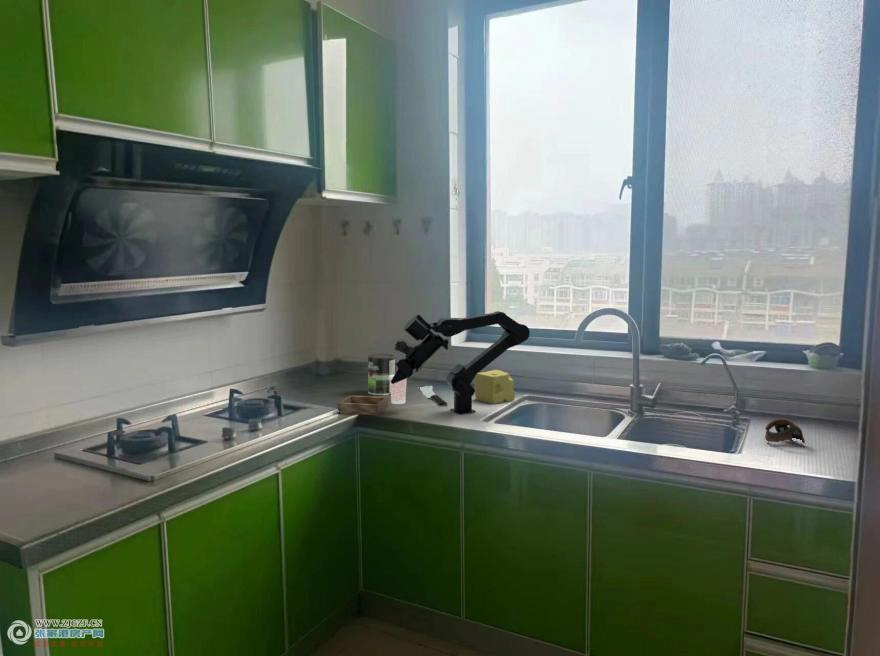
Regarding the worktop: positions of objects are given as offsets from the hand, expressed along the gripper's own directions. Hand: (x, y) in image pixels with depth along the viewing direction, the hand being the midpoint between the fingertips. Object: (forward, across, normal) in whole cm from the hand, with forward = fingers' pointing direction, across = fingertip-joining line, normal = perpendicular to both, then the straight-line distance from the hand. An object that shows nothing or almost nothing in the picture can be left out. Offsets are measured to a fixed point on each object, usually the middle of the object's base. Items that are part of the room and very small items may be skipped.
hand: (394, 381), depth 211 cm
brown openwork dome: (-74, +12, +90) cm, 117 cm away
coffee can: (+16, -28, -2) cm, 32 cm away
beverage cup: (+4, 0, +6) cm, 7 cm away
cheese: (-14, -24, +29) cm, 40 cm away
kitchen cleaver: (+4, -24, +12) cm, 27 cm away
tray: (+15, 0, 0) cm, 15 cm away
